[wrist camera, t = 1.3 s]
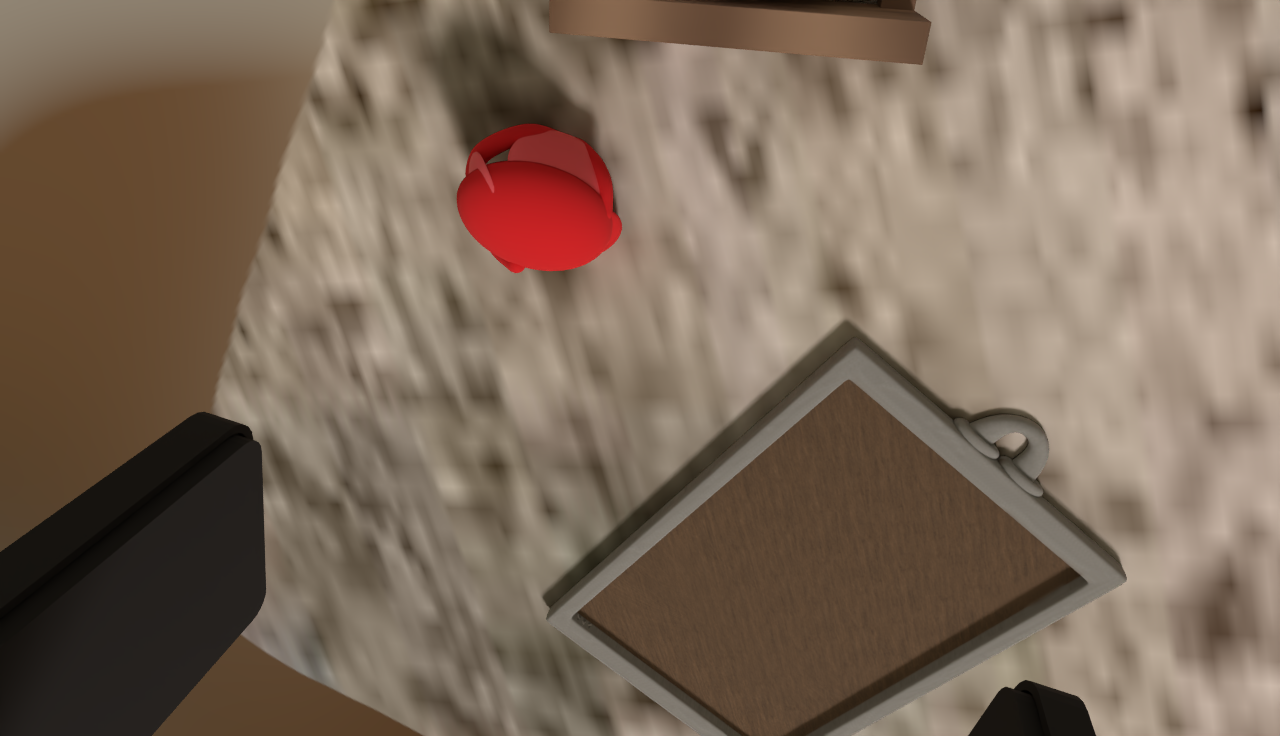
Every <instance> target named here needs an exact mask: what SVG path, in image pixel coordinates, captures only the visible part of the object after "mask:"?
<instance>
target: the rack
mask: <svg viewBox="0 0 1280 736" xmlns="http://www.w3.org/2000/svg"><path fill="white" fill-rule="evenodd" d="M915 4H916V0H878V1H877V4H871V3H858V2H845V1H831V0H550V2H549V32H550V33H561V34H573V35H585V36H596V37H608V38H619V39H631V40H642V41H654V42H665V43H677V44H688V45H700V46H711V47H723V48H734V49H746V50H758V51H769V52H781V53H792V54H804V55H815V56H827V57H838V58H850V59H861V60H873V61H884V62H896V63H908V64H919V65H922V64H923V59H924V54H925V50H926V45H927V41H928V36H929V31H930V27H931V22H930V21H929V20H927V19H926V18H924V17H923V16H921V15H920V14H918V13H917V12H915V11H914V9H915Z"/></svg>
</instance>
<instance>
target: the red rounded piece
mask: <svg viewBox="0 0 1280 736" xmlns="http://www.w3.org/2000/svg"><path fill="white" fill-rule="evenodd" d="M508 149H510V151H509V154H508V161H500V162H495V163H490V164H487V165H486V163H487V162H488V161H489V160H490V159H492V158H493V157H495V156H496V155H498V154H500V153H502V152H504V151H506V150H508ZM465 174H466V177H465V178H464V179H463V181H462V182H461V184H460V186H459V188H458V192H457V207H458V211H459V214H460V217H461V219H462V221H463V223H464V225H465V227H466V228H467V230H468V231H469V232H470V234H471V235H472V236H473V237H474V238H475V239H476V240H477V241H478V242H479V243H480V244H481V245H482V246H483V247H485V248H486V249H487V250H489V251H490V252H491V253H492V255H493V256H494V257H495V258H496V259H497V260H498V261H499V262H500V263H502V264H503V265H504V266H505V267H506V268H508V269H509V270H510V271H511V272H514V273H519V272H521V271H523V270H524V268H525V267H526V268H530V269H535V270H543V271H561V270H568V269H573V268H577V267H580V266H582V265H585V264H587V263H589V262H590V261H592V260H594V259H595V258H596V257H598V256H599V255H600V254H601V253H602V252H603V251H605V250H607V249H608V248H609V247H611V246H612V245H613V244H614V243H615V242H616V240H617V239H618V238H619V236H620V234H621V230H622V223H621V220H620V218H619V216H618V215H617V214H616V213H614V212H613V186H612V181H611V177H610V174H609V171H608V169H607V167H606V165H605V163H604V162H603V160H602V159H601V158H600V156H599V155H598V154H597V153H596V152H595V151H594V149H593V148H592V147H591V146H590V145H588V144H587V143H586V142H585V141H583V140H582V139H579V138H577V137H573V136H571V135H569V134H566V133H563V132H560V131H557V130H555V129H552V128H549V127H546V126H543V125H539V124H521V125H516V126H512V127H509V128H506V129H504V130H501V131H498V132H496V133H494V134H492V135H490V136H488V137H487V138H485V139H483V140H482V141H480V142H479V143H478V144H477V145H476V146H475V147H474V148H473V149H472V151H471V153H470V155H469V158H468V161H467V165H466V173H465Z"/></svg>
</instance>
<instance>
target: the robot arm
mask: <svg viewBox="0 0 1280 736" xmlns="http://www.w3.org/2000/svg"><path fill="white" fill-rule="evenodd" d="M265 595H266V573H265V541H264V509H263V478H262V450H261V445H260V444H259V442H257V441H254V440H253V436H252V431H251V430H250V428H249V427H248V426H246V425H243V424H240V423H237V422H234V421H231V420H228V419H225V418H222V417H219V416H216V415H213V414H210V413H206V412H199V413H196V414H194V415H192V416H190V417H189V418H187V419H186V420H185V421H183V422H182V423H180V424H179V425H178V426H176V427H175V428H173V429H172V430H171V431H170V432H168V433H166V434H165V435H164V436H162V437H161V438H159V439H158V440H157V441H155V442H154V443H153V444H151V445H150V446H148V447H147V448H145V449H144V450H143V451H141V452H140V453H138V454H137V455H136V456H134V457H133V458H131V459H130V460H129V461H127V462H126V463H125V464H123V465H122V466H120V467H119V468H117V469H116V470H115V471H113V472H112V473H110V474H109V475H108V476H107V477H105V478H103V479H102V480H101V481H99V482H98V483H96V484H95V485H94V486H92V487H91V488H90V489H88V490H87V491H85V492H84V493H82V494H81V495H80V496H78V497H77V498H75V499H74V500H73V501H71V502H70V503H68V504H67V505H66V506H64V507H63V508H61V509H60V510H58V511H57V512H56V513H54V514H53V515H51V516H50V517H49V518H47V519H46V520H44V521H43V522H42V523H40V524H39V525H38V526H36V527H35V528H33V529H32V530H30V531H29V532H28V533H26V534H25V535H23V536H22V537H21V538H19V539H18V540H17V541H15V542H14V543H12V544H11V545H9V546H8V547H7V548H5V549H4V550H2V551H1V552H0V736H152V735H153V734H154V732H155V731H156V730H157V729H158V728H159V727H160V726H161V724H162V723H163V722H164V721H165V720H166V719H167V717H168V716H169V715H170V714H171V713H172V712H173V711H174V710H175V708H176V707H177V706H178V705H179V704H180V703H181V701H182V700H183V699H184V698H185V697H186V696H187V695H188V694H189V692H190V691H191V690H192V689H193V688H194V686H196V684H197V683H198V682H199V681H200V680H201V679H202V678H203V676H204V675H205V674H206V673H207V671H209V670H210V668H211V667H212V666H213V665H214V664H215V663H216V662H217V660H218V659H219V658H220V657H221V656H222V655H223V654H224V653H225V651H226V650H227V649H228V648H229V647H230V646H231V644H232V643H233V642H234V641H235V640H236V639H237V638H238V637H239V635H240V634H241V633H242V632H243V631H244V630H245V629H246V627H247V626H248V625H249V624H250V623H251V622H252V621H253V619H254V618H255V617H256V615H257V614H258V612H259V610H260V608H261V606H262V604H263V602H264V598H265ZM968 736H1096V734H1095V732H1094V729H1093V726H1092V723H1091V720H1090V717H1089V714H1088V711H1087V709H1086V707H1085V705H1084V702H1083V701H1082V700H1081V699H1080V698H1079V697H1078V696H1075V695H1071V694H1068V693H1065V692H1062V691H1059V690H1056V689H1053V688H1050V687H1047V686H1044V685H1041V684H1038V683H1035V682H1032V681H1027V680H1025V681H1022V682H1020V683H1019V684H1018V685H1017V686H1016V687H1015V688H1014V689H1012V688H1008V687H1004V688H1002V689H1001V690H1000V691H999V692H998V693H997V695H996V696H995V698H994V699H993V701H992V702H991V703H990V705H989V706H988V708H987V709H986V711H985V712H984V714H983V715H982V716H981V718H980V719H979V721H978V722H977V724H976V725H975V727H974V728H973V729H972V731H971V732H970V734H969V735H968Z"/></svg>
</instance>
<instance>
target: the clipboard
mask: <svg viewBox="0 0 1280 736" xmlns="http://www.w3.org/2000/svg"><path fill="white" fill-rule="evenodd" d="M1014 432H1016V433H1021V434H1023V435H1024V436H1025V437H1026V438H1027V439H1028V446H1027V448H1026V449H1025V450H1024V451H1023V452H1022V453H1021V454H1020V455H1018V456H1017V457H1016V458H1014V459H1013V460H1012V459H1011V458H1009V457H1007V456H1000V457H999V451H998V449H997V447H996V446H995V444H994V443H995V442H996V441H997V440H999V439H1000V438H1002V437H1003V436H1005V435H1007V434H1009V433H1014ZM1048 454H1049V444H1048V439H1047V437H1046V434H1045V432H1044V431H1043V430H1042V428H1041V427H1040V426H1039V425H1038V424H1037V423H1035V422H1033V421H1032V420H1030V419H1028V418H1025V417H1022V416H1018V415H1012V414H1000V415H994V416H989V417H985V418H982V419H979V420H977V421H974V422H971V423H969V422H968V421H967V420H966V419H964V418H955V419H954V420H953V419H951V418H950V417H949V416H948V415H947V414H946V413H944V412H943V411H942V410H941V409H940V408H939V407H937V406H936V405H935V404H934V403H933V402H932V401H931V400H929V399H928V398H927V397H926V396H925V395H924V394H922V393H921V392H920V391H919V390H918V389H917V388H915V387H914V386H913V385H912V384H911V383H910V382H908V381H907V380H906V379H905V378H904V377H903V376H902V375H900V374H899V373H898V372H897V371H896V370H895V369H893V368H892V367H891V366H890V365H889V364H888V363H886V362H885V361H884V360H883V359H882V358H881V357H879V356H878V355H877V354H876V353H875V352H874V351H873V350H871V349H870V348H869V347H868V346H867V345H866V344H864V343H863V342H862V341H861V340H859V339H858V338H856V337H853V338H852V339H851V340H849V341H848V342H847V343H846V344H845V345H844V346H843V347H841V348H840V349H839V350H838V351H837V352H836V353H835V354H833V355H832V356H831V357H830V358H829V359H828V360H827V361H826V362H825V363H823V364H822V365H821V366H820V367H819V368H818V369H817V370H816V371H814V372H813V373H812V374H811V375H810V376H809V377H808V378H807V379H805V380H804V381H803V382H802V383H801V384H800V385H799V386H798V387H796V388H795V389H794V390H793V391H792V392H791V393H790V394H789V395H788V396H786V397H785V398H784V399H783V400H782V401H781V402H780V403H779V404H777V405H776V406H775V407H774V408H773V409H772V410H771V411H770V412H768V413H767V414H766V415H765V416H764V417H763V418H762V419H761V420H760V421H758V422H757V423H756V424H755V425H754V426H753V427H752V428H751V429H749V430H748V431H747V432H746V433H745V434H744V435H743V436H742V437H740V438H739V439H738V440H737V441H736V442H735V443H734V444H733V445H732V446H730V447H729V448H728V449H727V450H726V451H725V452H724V453H723V454H721V455H720V456H719V457H718V458H717V459H716V460H715V461H714V462H712V463H711V464H710V465H709V466H708V467H707V468H706V469H705V470H703V471H702V472H701V473H700V474H699V475H698V476H697V477H696V478H695V479H693V480H692V481H691V482H690V483H689V484H688V485H687V486H686V487H684V488H683V489H682V490H681V491H680V492H679V493H678V494H677V495H675V496H674V497H673V498H672V499H671V500H670V501H669V502H668V503H667V504H665V505H664V506H663V507H662V508H661V509H660V510H659V511H658V512H656V513H655V514H654V515H653V516H652V517H651V518H650V519H649V520H647V521H646V522H645V523H644V524H643V525H642V526H641V527H640V528H639V529H637V530H636V531H635V532H634V533H633V534H632V535H631V536H630V537H628V538H627V539H626V540H625V541H624V542H623V543H622V544H621V545H619V546H618V547H617V548H616V549H615V550H614V551H613V552H612V553H611V554H609V555H608V556H607V557H606V558H605V559H604V560H603V561H602V562H600V563H599V564H598V565H597V566H596V567H595V568H594V569H593V570H591V571H590V572H589V573H588V574H587V575H586V576H585V577H584V578H582V579H581V580H580V581H579V582H578V583H577V584H576V585H575V586H574V587H572V588H571V589H570V590H569V591H568V592H567V593H566V594H565V595H563V596H562V597H561V598H560V599H559V600H558V601H557V602H556V603H555V604H554V605H552V607H551V608H550V610H549V612H548V614H547V618H546V620H547V622H548V623H550V624H551V625H552V626H554V627H555V628H556V629H558V630H559V631H560V632H562V633H563V634H564V635H566V636H567V637H568V638H570V639H571V640H572V641H574V642H575V643H576V644H578V645H579V646H581V647H582V648H583V649H585V650H586V651H587V652H589V653H590V654H591V655H593V656H594V657H595V658H597V659H598V660H599V661H601V662H602V663H604V664H605V665H606V666H608V667H609V668H610V669H612V670H613V671H614V672H616V673H617V674H618V675H620V676H621V677H622V678H624V679H625V680H626V681H628V682H629V683H631V684H632V685H633V686H635V687H636V688H637V689H639V690H640V691H641V692H643V693H644V694H645V695H647V696H648V697H649V698H651V699H652V700H654V701H655V702H656V703H658V704H659V705H660V706H662V707H663V708H664V709H666V710H667V711H668V712H670V713H671V714H672V715H674V716H675V717H677V718H678V719H679V720H681V721H682V722H683V723H685V724H686V725H687V726H689V727H690V728H691V729H693V730H694V731H695V732H697V733H698V734H700V735H701V736H852V735H853V734H855V733H857V732H859V731H861V730H862V729H864V728H866V727H868V726H870V725H871V724H873V723H875V722H877V721H878V720H880V719H882V718H884V717H886V716H887V715H889V714H891V713H893V712H895V711H896V710H898V709H900V708H902V707H904V706H905V705H907V704H909V703H911V702H913V701H914V700H916V699H918V698H920V697H921V696H923V695H925V694H927V693H929V692H930V691H932V690H934V689H936V688H938V687H939V686H941V685H943V684H945V683H947V682H948V681H950V680H952V679H954V678H956V677H957V676H959V675H961V674H963V673H964V672H966V671H968V670H970V669H972V668H973V667H975V666H977V665H979V664H981V663H982V662H984V661H986V660H988V659H990V658H991V657H993V656H995V655H997V654H999V653H1000V652H1002V651H1004V650H1006V649H1007V648H1009V647H1011V646H1013V645H1015V644H1016V643H1018V642H1020V641H1022V640H1024V639H1025V638H1027V637H1029V636H1031V635H1033V634H1034V633H1036V632H1038V631H1040V630H1042V629H1043V628H1045V627H1047V626H1049V625H1051V624H1052V623H1054V622H1056V621H1058V620H1059V619H1061V618H1063V617H1065V616H1067V615H1068V614H1070V613H1072V612H1074V611H1076V610H1077V609H1079V608H1081V607H1083V606H1085V605H1086V604H1088V603H1090V602H1092V601H1094V600H1095V599H1097V598H1099V597H1101V596H1102V595H1104V594H1106V593H1108V592H1110V591H1111V590H1113V589H1115V588H1117V587H1118V586H1120V585H1122V584H1123V583H1125V582H1126V580H1127V577H1126V574H1125V572H1124V570H1123V568H1122V566H1121V565H1120V564H1119V563H1118V562H1117V561H1116V560H1115V559H1114V558H1113V557H1112V556H1110V555H1109V554H1108V553H1107V552H1106V551H1105V550H1103V549H1102V548H1101V547H1100V546H1099V545H1098V544H1096V543H1095V542H1094V541H1093V540H1092V539H1091V538H1089V537H1088V536H1087V535H1086V534H1085V533H1084V532H1083V531H1081V530H1080V529H1079V528H1078V527H1077V526H1076V525H1074V524H1073V523H1072V522H1071V521H1070V520H1069V519H1067V518H1066V517H1065V516H1064V515H1063V514H1062V513H1060V512H1059V511H1058V510H1057V509H1056V508H1055V507H1054V506H1052V505H1051V504H1050V503H1049V502H1048V501H1047V500H1045V499H1044V498H1043V497H1042V494H1043V489H1042V487H1041V485H1040V484H1039V483H1038V481H1037V480H1035V479H1036V478H1037V477H1038V475H1039V474H1040V473H1041V471H1042V469H1043V468H1044V466H1045V464H1046V462H1047V459H1048ZM998 457H999V458H998Z"/></svg>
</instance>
